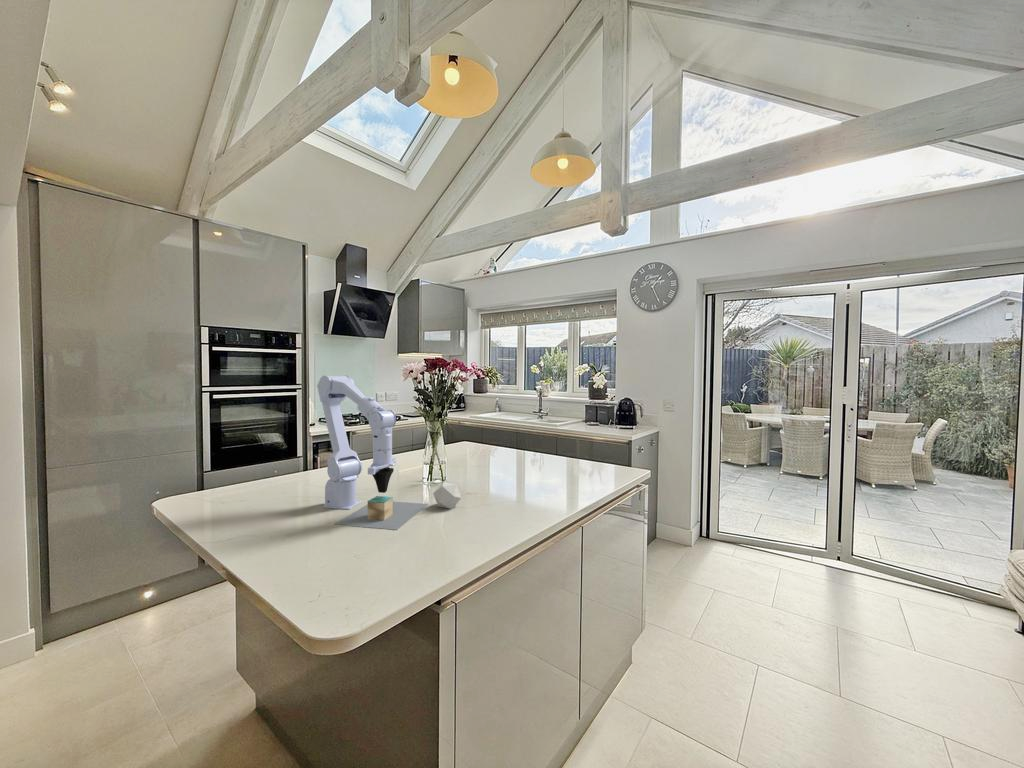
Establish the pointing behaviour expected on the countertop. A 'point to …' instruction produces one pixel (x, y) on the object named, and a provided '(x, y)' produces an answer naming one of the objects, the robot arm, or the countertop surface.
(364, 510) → the rubber mat
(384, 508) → the oak block
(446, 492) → the die
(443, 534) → the countertop surface
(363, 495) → the countertop surface
